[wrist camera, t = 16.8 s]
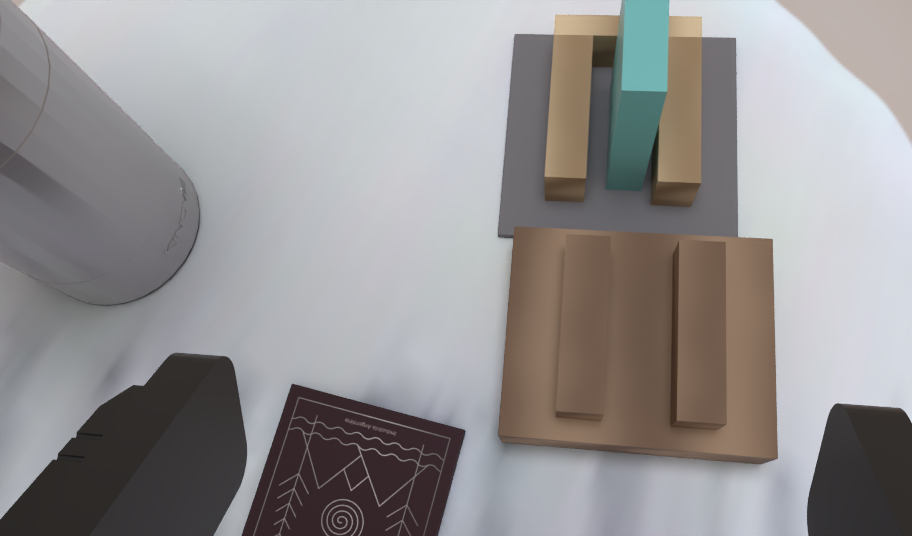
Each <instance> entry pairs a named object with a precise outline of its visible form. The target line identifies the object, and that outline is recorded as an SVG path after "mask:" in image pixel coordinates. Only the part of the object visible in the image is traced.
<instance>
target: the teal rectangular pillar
mask: <svg viewBox="0 0 912 536" xmlns="http://www.w3.org/2000/svg"><path fill="white" fill-rule="evenodd" d="M668 33H669V0H622V3H621V11H620V18H619V26H618V33H617V41H616V48H615V56H614V63H613V71H612V78H611V86H610V105H609V127H608V149H607V171H606V189H607V190H630V191H641V189H642V185H643V182H644V178H645V174H646V170H647V166H648V163H649V159H650V155H651V151H652V148H653V144H654V140H655V136H656V132H657V129H658V125H659V121H660V117H661V113H662V110H663V106H664V102H665V98H666V94H667V79H668Z"/></svg>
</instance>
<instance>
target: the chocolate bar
mask: <svg viewBox="0 0 912 536" xmlns="http://www.w3.org/2000/svg"><path fill="white" fill-rule="evenodd" d="M464 435H465V430H463V429H459V428H455V427H451V426H448V425H444V424H440V423H436V422H433V421H429V420H425V419H422V418H418V417H414V416H410V415H407V414H403V413H399V412H395V411H392V410H388V409H384V408H381V407H377V406H373V405H369V404H366V403H362V402H358V401H354V400H351V399H347V398H343V397H340V396H336V395H332V394H328V393H325V392H321V391H317V390H313V389H310V388H306V387H302V386H299V385H295V384H292V385H291V388H290V391H289V394H288V397H287V400H286V403H285V406H284V409H283V412H282V415H281V419H280V422H279V425H278V428H277V431H276V434H275V437H274V440H273V443H272V446H271V449H270V452H269V455H268V458H267V461H266V464H265V467H264V470H263V473H262V476H261V479H260V482H259V485H258V488H257V491H256V494H255V497H254V500H253V503H252V506H251V509H250V512H249V515H248V518H247V521H246V524H245V527H244V530H243V533H242V536H438V532H439V528H440V525H441V521H442V517H443V513H444V510H445V506H446V502H447V498H448V495H449V491H450V487H451V484H452V480H453V476H454V472H455V469H456V465H457V461H458V457H459V454H460V450H461V446H462V442H463V439H464Z"/></svg>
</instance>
